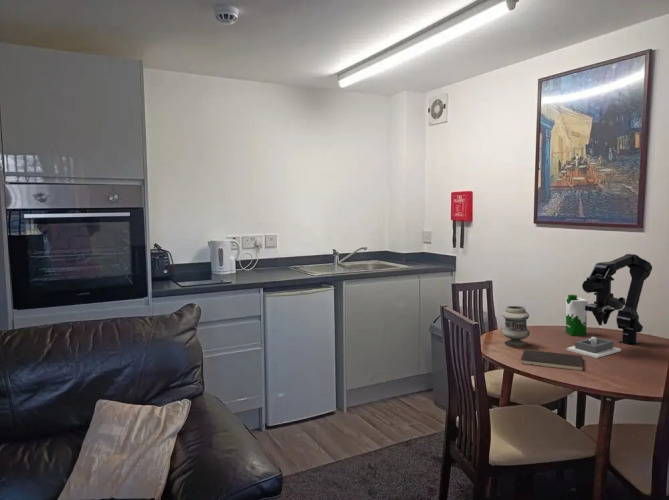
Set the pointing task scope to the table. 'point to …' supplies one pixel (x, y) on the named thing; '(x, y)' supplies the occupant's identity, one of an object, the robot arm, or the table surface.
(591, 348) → the grey rectangular frame
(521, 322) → the apothecary jar
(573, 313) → the milk carton
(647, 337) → the table surface
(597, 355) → the hook board
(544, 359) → the hardcover book
